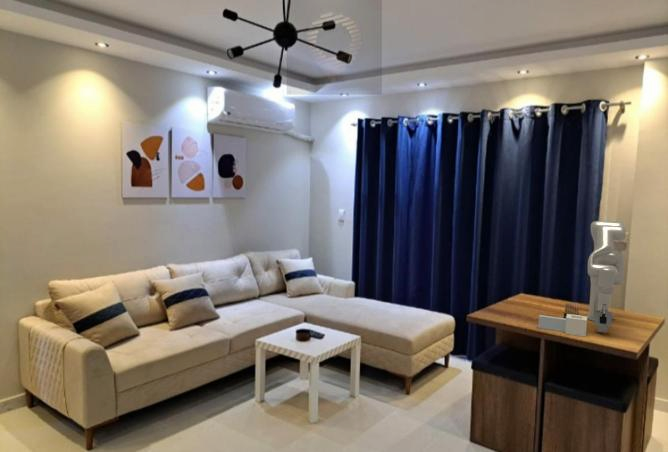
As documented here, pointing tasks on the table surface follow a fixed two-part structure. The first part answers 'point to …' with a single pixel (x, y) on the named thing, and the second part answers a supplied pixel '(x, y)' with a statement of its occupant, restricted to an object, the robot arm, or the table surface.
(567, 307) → the ammunition clip
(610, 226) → the robot arm
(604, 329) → the steel bracket
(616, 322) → the table surface
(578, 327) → the headboard post
